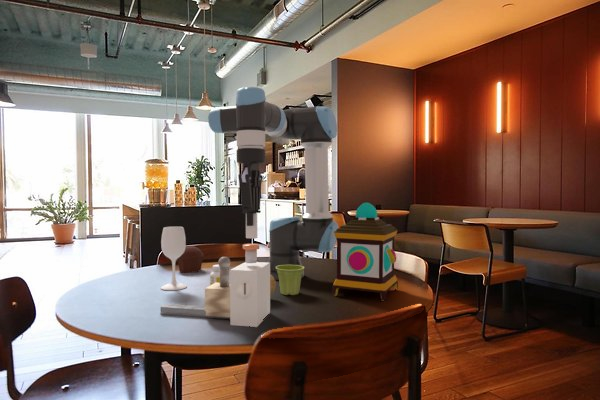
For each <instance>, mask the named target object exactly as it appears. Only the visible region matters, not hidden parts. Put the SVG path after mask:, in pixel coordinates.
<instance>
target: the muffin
mask: <svg viewBox="0 0 600 400" xmlns="http://www.w3.org/2000/svg"><path fill="white" fill-rule="evenodd" d="M204 255H205V254H204V253H203V251H202V250H201V249H200V248H199V247H196V246H193V245H189V246H186V248H185V251H184V253H183V254H182V255H181V256H180V257H179V258H177V264H178V270H179V272H180V273H183V274H186V273H187V274H189V273H190V274H192V273H197V272H200V271H202V263H203V257H204Z"/></svg>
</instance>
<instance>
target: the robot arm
mask: <svg viewBox="0 0 600 400" xmlns="http://www.w3.org/2000/svg"><path fill="white" fill-rule="evenodd" d="M266 100H267V98H266V92H265V90H264V89H263V88H260V87H256V86H246V87H241V88H238V89H237V91H236V97H235V105H232V106H219V107H214V108H213V107H212V109H211V110H210V111H209V112H208V116H207V117H208V118H207V119H208V126H209V129H210V130H211V131H212V132H213V133H215V134H219V133H220V134H227V133H228V134H229V133H233V134H234V133H235V134H236V136H234V139H235V140H236V147H237V149H236V162H237V164H239V165H240V164H241V165H242V170H241V173H240V174H238V180H239V185H240V186H239V187H240V197H241V209H242V211H241V213H242V214H245V238H246V239H258V214H260V213H261V210H260V209H261V199H262V196H261V195H262V183H263V179H264V178H263V175H262V174H261V171H260V166H259V165H261V164H265V163H266V150H265V147H266V146H267V145H266V135H268V136H269V137H271V138H279V139H285V140H294V141H296V140H297V141H298V140H300V145H301V146H302V147H303V148H304V163H305V164H304V166H305V167H304V171H305V172H304V173H305V177H304V178H305V213H304V214H303V215H302V216H301V218H300V217H299V216H289V217H283V218H282V217H281V218H275V219H272V220H271V221H270V223H269V258H268V261H267V262H268V263H270V275H272V276H273V277H274V279H275V281H279V276H278V273H277V269H276V266H279V265H300V266H303V264H302V262H301V261H302V260H301V258H300V252H314V253H316V252H318V253H331V252H332V251H333V250H334V248H335V246H336V245H337V239H336V237H335V235H334V231H336V229H338V228H339V225H338V224H339V223H338V222H337V221H335V220H334V219H333V218H334V216H333V214H331V212H329V209H330V208H329V206H330V205H329V204H330V203H329V147H330V146H331V145H332V143H333V140H332V139H335V138H336V137H337V135H338V126H337V125H338V124H337V119H336V116H335V113H334V110H333V109H332V108H331V107H329V106H318V105H317V106H307V107H299V108H298V107H297V108H288V109H282V108H281V107H280V106H278V105H276V104H273V103H270V102H267V101H266ZM304 270H305V269H303V273H302V276H301V279H302V278H304V276H305V272H304Z"/></svg>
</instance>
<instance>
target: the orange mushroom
mask: <svg viewBox="0 0 600 400" xmlns="http://www.w3.org/2000/svg"><path fill="white" fill-rule="evenodd" d="M259 249H260V243H244V244H242V250H244V251H245V253H244V254H245V255H244V256H245V263H257V262H258V250H259Z"/></svg>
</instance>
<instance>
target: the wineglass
mask: <svg viewBox="0 0 600 400" xmlns="http://www.w3.org/2000/svg"><path fill="white" fill-rule="evenodd" d="M186 240H187V238H186V233H185V228H184V227H183V226H165V227H163V229H162V233H161V240H160V245H161V251H162V253H163V255H164V256H165V257H166V258H167V259H169V260H170V261H171V265H172V266H171V269H172V273H171V274H172V275H171V282H170V283H167V284H164V285H162V286H161V287H160V289H161V290H162V291H178V290H179V291H180V290H183V289H186V288H187V287H188V285H186V284H185V283H180V282H177V277H176V262H177V261H178V259H177V258H179V257H180V256H181V255H182V254H183V253H184V251H185V248H186V247H187V243H186V242H187V241H186Z"/></svg>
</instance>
